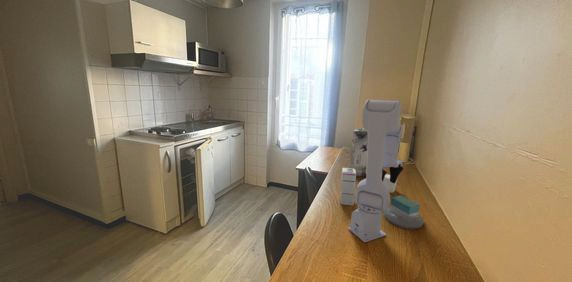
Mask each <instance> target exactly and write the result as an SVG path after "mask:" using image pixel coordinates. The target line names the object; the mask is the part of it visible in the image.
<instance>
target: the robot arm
mask: <svg viewBox="0 0 572 282" xmlns="http://www.w3.org/2000/svg"><path fill="white" fill-rule="evenodd" d="M402 105H403V104H402V102H401V101H400V100H381V99H380V100H379V99H370V98H369V99H366V101H365V102H364V104H363V107H362V116H361V117H362V118H361V121H362V122H361V124H362V128H364V129H366V130H367V133H368V149H367V165H366V172H365V174H366V175H365V178H364V179H362V180H360V181H359V182H358V183H357V185H356V188H355V199H354V202H355V203H356V204H358V205H357V209H355V210H353V211H352V212H351V216H350V226H349V227H348V230H349V231H351V233H352V234H354V235H355V236H356V237H358V238H359V239H360V240H361V241H363V243H367V242H370V241H373V240H376V239H379V238H383V237H385V236H387V234H386V232H384V231H383V230H382V221H383V214H384V213H383V212H385V211H386V210H387V209H388V208H389V207H390V206H389V205H390V202H391V194H390V193H391V192H390V190H389V187H388V186H387V185H386V184H385V183H384V182H383V180H384V177H385V175H386V174H388V171H386V170H385V169H387V168H388V169H389V174H390V182H392V183H395V182H396V180H397V181H398V179H397V178H399V175H401V172H403V171H404V167H403V164H404V161H403V160H399V159H398V154H399V148H400V142H401V140H402V139H401V138H402V135H403V130H404V125H403V124H401V122H400V119H401V114H402Z"/></svg>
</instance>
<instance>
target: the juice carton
mask: <svg viewBox="0 0 572 282" xmlns="http://www.w3.org/2000/svg"><path fill="white" fill-rule="evenodd" d="M352 132H353V133H352V135H351V136H352V137H351V147H350V159H349V160H350V162H349V168H353V169H355V171H356V177H364V176H366V175H365V174H366V170H367V149H368V133H367V130H366V129H364V128H363V127H362V128H353V131H352Z"/></svg>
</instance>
